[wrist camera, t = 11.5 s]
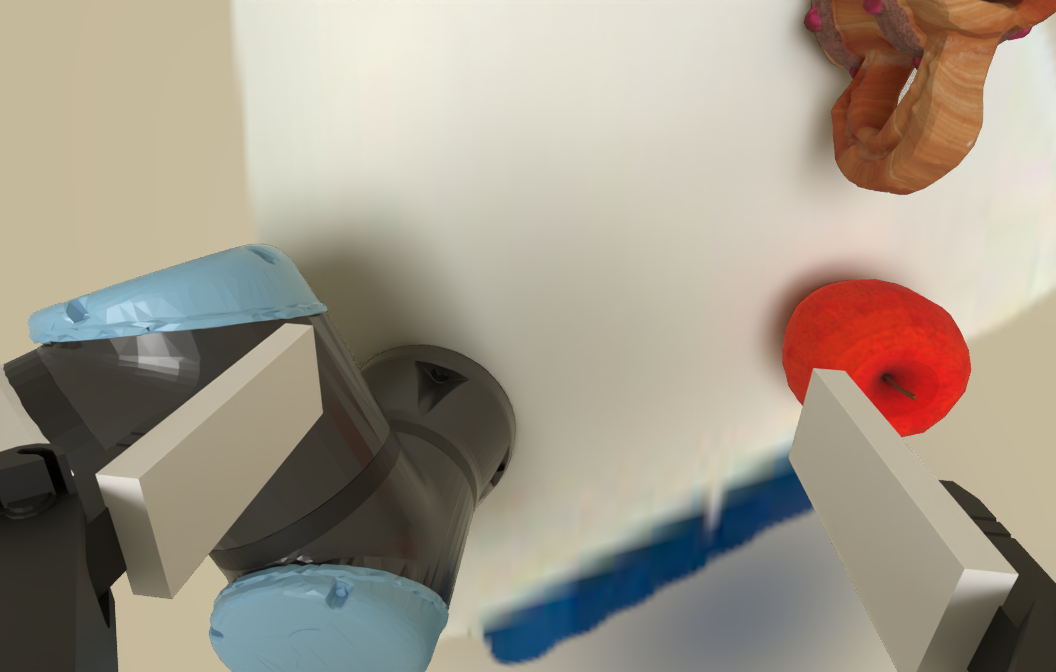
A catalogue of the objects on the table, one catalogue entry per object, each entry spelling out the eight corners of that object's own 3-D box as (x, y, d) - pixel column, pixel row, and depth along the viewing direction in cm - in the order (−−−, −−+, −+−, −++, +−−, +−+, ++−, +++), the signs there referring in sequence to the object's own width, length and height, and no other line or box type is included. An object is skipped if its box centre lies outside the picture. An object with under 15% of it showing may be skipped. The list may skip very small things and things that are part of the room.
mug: (828, -112, 33) (991, -243, 20) (971, -86, 33) (1235, -202, 19) (746, 151, 39) (826, 191, 26) (866, 174, 39) (1011, 226, 26)
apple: (823, 400, 46) (896, 503, 35) (731, 328, 45) (776, 411, 33) (931, 309, 42) (1050, 391, 31) (834, 226, 41) (924, 282, 30)
